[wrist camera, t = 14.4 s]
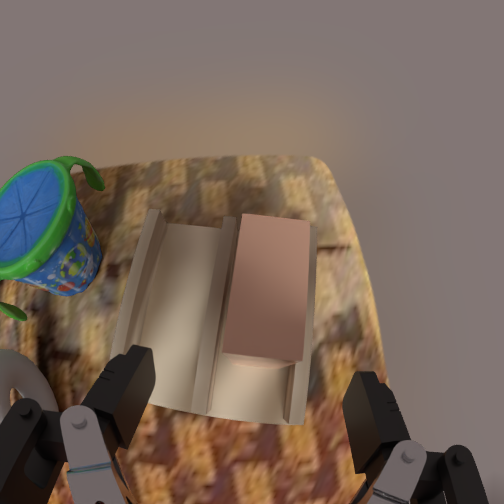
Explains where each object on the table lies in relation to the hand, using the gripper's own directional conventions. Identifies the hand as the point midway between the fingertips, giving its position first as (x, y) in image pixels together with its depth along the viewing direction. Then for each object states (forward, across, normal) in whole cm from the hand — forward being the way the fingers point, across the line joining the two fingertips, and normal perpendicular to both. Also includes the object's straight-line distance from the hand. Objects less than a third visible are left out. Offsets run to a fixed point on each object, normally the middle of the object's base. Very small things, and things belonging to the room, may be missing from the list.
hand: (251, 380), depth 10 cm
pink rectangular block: (+11, 0, +5) cm, 12 cm away
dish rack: (+12, +3, +6) cm, 14 cm away
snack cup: (+14, +19, +4) cm, 24 cm away
